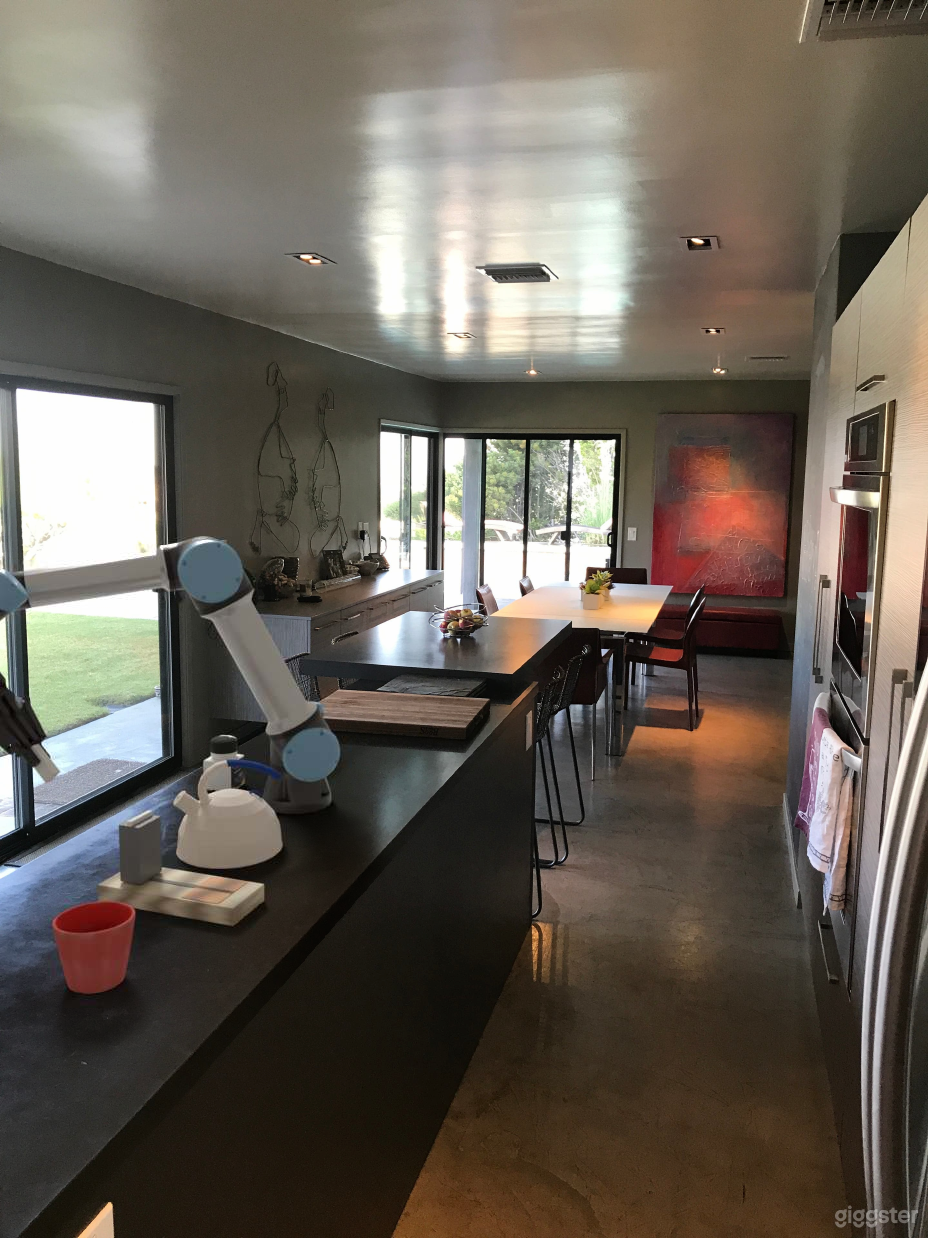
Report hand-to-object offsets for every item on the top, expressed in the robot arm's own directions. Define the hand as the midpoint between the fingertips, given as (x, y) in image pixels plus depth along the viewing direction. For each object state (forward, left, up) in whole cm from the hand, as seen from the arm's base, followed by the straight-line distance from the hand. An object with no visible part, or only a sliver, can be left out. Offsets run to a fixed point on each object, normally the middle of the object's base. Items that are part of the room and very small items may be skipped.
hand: (53, 777), depth 166 cm
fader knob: (-13, +14, -15) cm, 24 cm away
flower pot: (-2, +40, -19) cm, 45 cm away
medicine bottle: (-39, -39, -19) cm, 58 cm away
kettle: (-31, -1, -19) cm, 36 cm away
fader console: (-18, +19, -19) cm, 32 cm away
